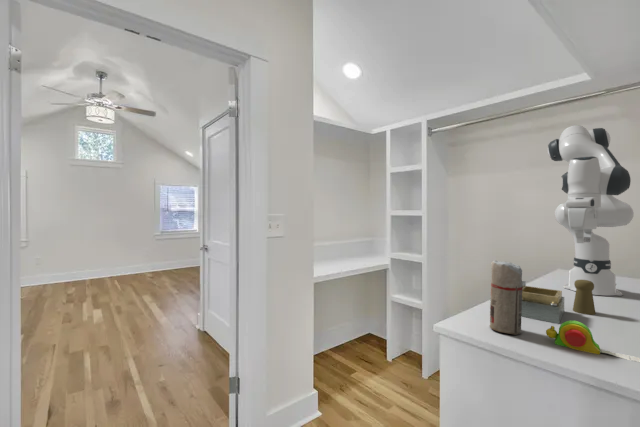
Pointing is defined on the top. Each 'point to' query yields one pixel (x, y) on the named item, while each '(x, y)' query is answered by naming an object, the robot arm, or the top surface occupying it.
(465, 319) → the top surface
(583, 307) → the cork
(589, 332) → the toy measuring tape
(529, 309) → the grey wooden box
